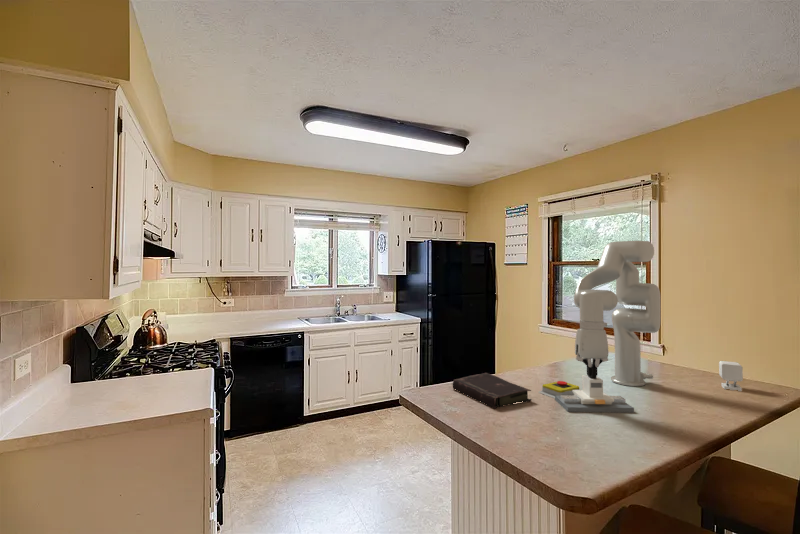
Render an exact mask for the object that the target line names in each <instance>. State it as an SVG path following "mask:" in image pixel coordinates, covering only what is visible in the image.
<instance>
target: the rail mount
mask: <svg viewBox="0 0 800 534" xmlns="http://www.w3.org/2000/svg"><path fill="white" fill-rule="evenodd" d="M609 396H610V397H611V398H613V399H614V402H612V404H581V399H580V398H579V397H578V396H574V395H573V396H571V395H561V396H555V399H554V401H555V402H557V403H558V404H559V405H560V406H561V408H563V409H564V410H565V411H566V412H568V413H570V412H571V413H574V412H575V413H584V412H585V413H635V407H633V406H632V405H630V404H629V403H627V402H626V398H624V397H623V396H621V395H609Z"/></svg>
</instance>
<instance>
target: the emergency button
mask: <svg viewBox="0 0 800 534" xmlns="http://www.w3.org/2000/svg"><path fill="white" fill-rule="evenodd" d="M572 390H580V386H579V385H576V384H573V383H570V382H567V381H563V380H557V381H552V382H549V383H545V384H542V388H541V390H540V391H538V394H542V395H544V396H546V397H549V398H552V399H554V400H555V396H561V395H571V396H574V393H573V392H572Z"/></svg>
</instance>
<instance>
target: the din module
mask: <svg viewBox="0 0 800 534" xmlns="http://www.w3.org/2000/svg"><path fill="white" fill-rule="evenodd" d="M581 378H582V381H581V382H582V389H581V390H582V391H583V392H584V393H585V394H586V395H587V396H589V397H603V392H604V380H603V379H602V378H600V377H598V375H597V376H596V379H594V378H593V379H591V378H590V377H588V375H587V374H582V377H581Z"/></svg>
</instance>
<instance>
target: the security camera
mask: <svg viewBox="0 0 800 534" xmlns="http://www.w3.org/2000/svg"><path fill="white" fill-rule="evenodd" d="M718 369H719V370H718V372H719V373H718V374H719V377H721V379H722V380H724V381H725V382H721V387H722V389H723V388H724V389H723V390H726V389H730V390H729V391H734V390H738V391H737V392H742V391H743V388H742V386H740V384H737V382H743V379H744V373H743V369H744V367H743V366H742V365H741V364H740V363H739V362H737V361H726V360H725V361H723V360H720V361H719V362H718ZM729 382H732V383H729Z"/></svg>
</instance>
